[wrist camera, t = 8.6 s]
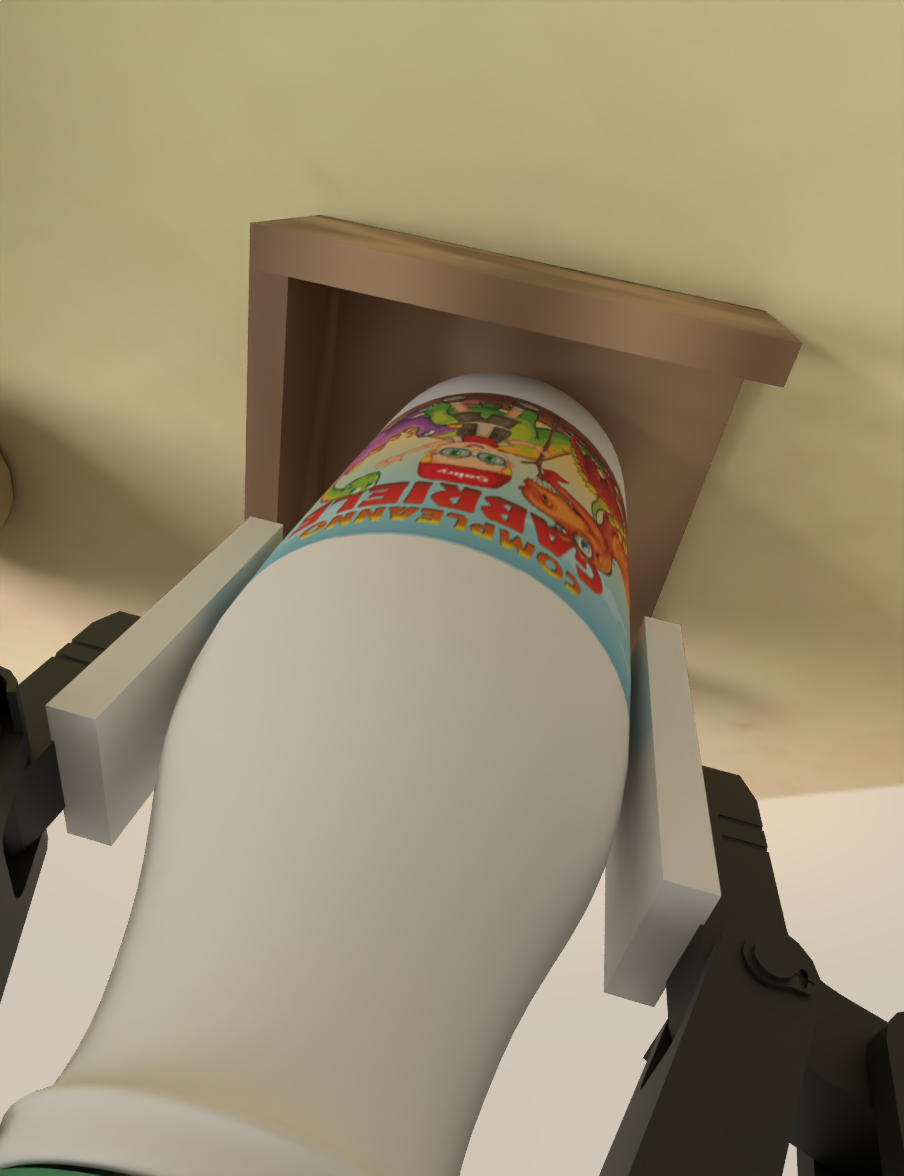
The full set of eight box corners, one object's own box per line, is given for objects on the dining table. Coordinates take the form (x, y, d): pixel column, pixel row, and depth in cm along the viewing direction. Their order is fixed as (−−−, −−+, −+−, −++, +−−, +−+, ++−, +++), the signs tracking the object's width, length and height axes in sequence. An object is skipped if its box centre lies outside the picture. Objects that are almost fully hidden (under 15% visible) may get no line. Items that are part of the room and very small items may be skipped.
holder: (295, 587, 27) (242, 654, 23) (319, 214, 21) (250, 222, 17) (624, 673, 26) (626, 758, 22) (764, 310, 20) (802, 343, 16)
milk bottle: (629, 597, 23) (673, 1837, 6) (400, 604, 25) (-72, 1555, 8) (620, 350, 19) (673, 1766, 2) (353, 380, 21) (-761, 1259, 4)
